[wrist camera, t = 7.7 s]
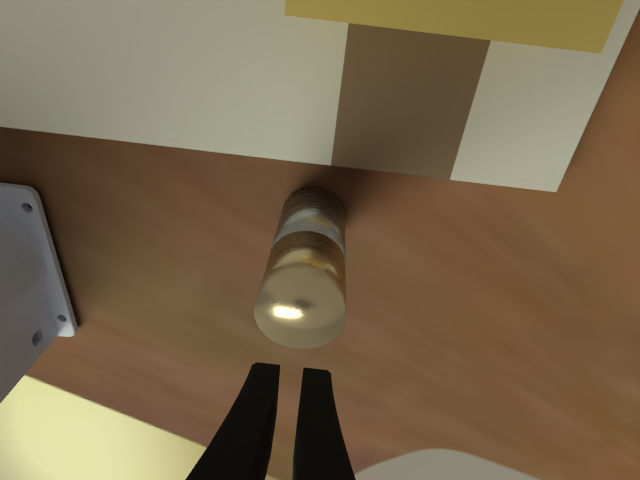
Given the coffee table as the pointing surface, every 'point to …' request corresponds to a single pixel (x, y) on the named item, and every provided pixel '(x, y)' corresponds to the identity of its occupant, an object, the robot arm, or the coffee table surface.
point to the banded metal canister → (305, 273)
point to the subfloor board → (300, 87)
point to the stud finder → (479, 19)
